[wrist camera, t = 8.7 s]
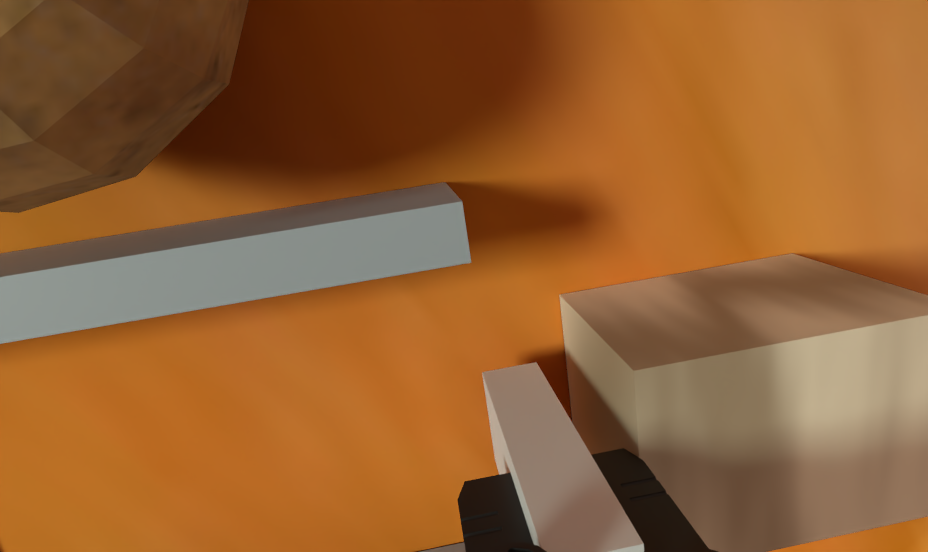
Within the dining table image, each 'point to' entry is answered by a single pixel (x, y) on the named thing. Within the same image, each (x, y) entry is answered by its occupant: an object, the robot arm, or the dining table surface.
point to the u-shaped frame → (230, 262)
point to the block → (760, 396)
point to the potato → (103, 87)
